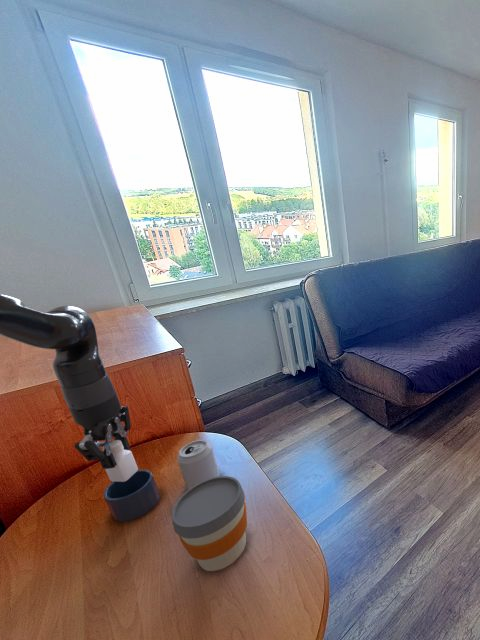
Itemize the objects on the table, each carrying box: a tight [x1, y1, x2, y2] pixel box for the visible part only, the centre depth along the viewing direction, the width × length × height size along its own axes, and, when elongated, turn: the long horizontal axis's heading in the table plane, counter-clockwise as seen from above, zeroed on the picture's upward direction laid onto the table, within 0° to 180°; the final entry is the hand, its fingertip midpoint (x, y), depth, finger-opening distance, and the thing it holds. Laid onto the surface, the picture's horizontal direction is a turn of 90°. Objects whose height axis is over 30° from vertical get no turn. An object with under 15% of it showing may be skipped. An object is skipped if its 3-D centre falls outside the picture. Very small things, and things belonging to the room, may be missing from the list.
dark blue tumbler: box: [103, 469, 161, 523], centre depth 82 cm, size 9×9×7 cm
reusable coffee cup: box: [171, 475, 248, 572], centre depth 70 cm, size 13×12×15 cm
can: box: [176, 439, 220, 490], centre depth 87 cm, size 8×8×12 cm
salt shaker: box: [102, 439, 139, 482], centre depth 78 cm, size 4×4×10 cm
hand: (117, 458), depth 78 cm, fingers closed on salt shaker, 4 cm apart
